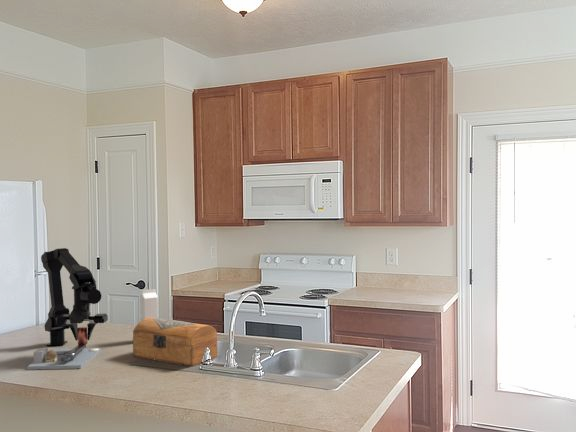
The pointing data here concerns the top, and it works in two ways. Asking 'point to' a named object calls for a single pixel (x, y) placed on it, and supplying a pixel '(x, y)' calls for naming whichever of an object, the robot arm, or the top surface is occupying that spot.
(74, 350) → the lever
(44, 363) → the blue-grey rectangular board
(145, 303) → the milk
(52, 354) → the nut
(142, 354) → the wooden box
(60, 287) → the robot arm
